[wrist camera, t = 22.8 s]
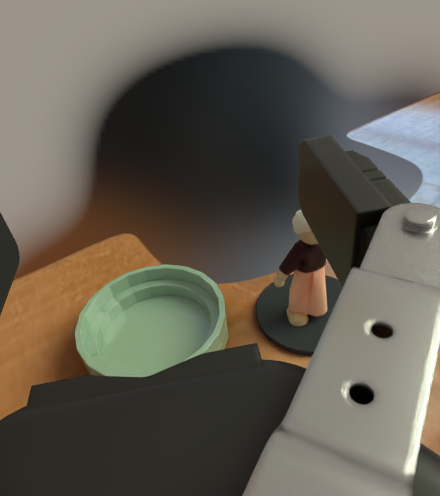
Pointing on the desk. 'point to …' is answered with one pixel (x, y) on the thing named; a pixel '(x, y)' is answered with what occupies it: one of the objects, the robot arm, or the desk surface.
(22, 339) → the desk surface
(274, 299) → the coaster
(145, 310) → the bowl
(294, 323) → the grandmother figurine
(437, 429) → the desk surface
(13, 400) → the desk surface
